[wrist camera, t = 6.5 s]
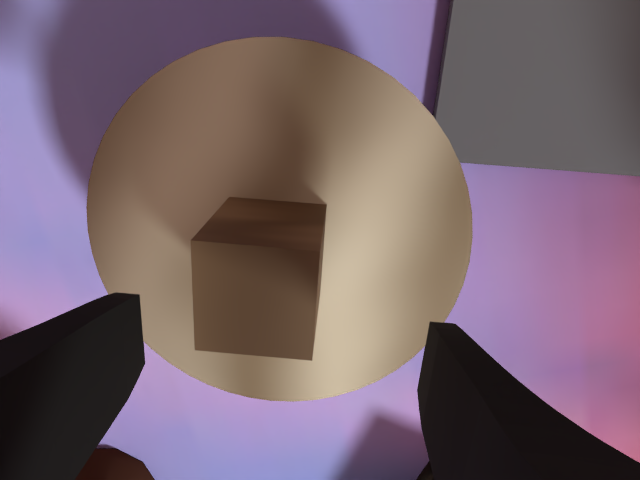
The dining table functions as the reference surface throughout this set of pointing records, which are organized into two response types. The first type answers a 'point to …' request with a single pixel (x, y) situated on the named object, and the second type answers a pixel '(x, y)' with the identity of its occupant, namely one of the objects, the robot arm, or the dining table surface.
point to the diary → (426, 473)
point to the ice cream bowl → (113, 467)
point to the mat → (543, 84)
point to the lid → (280, 218)
